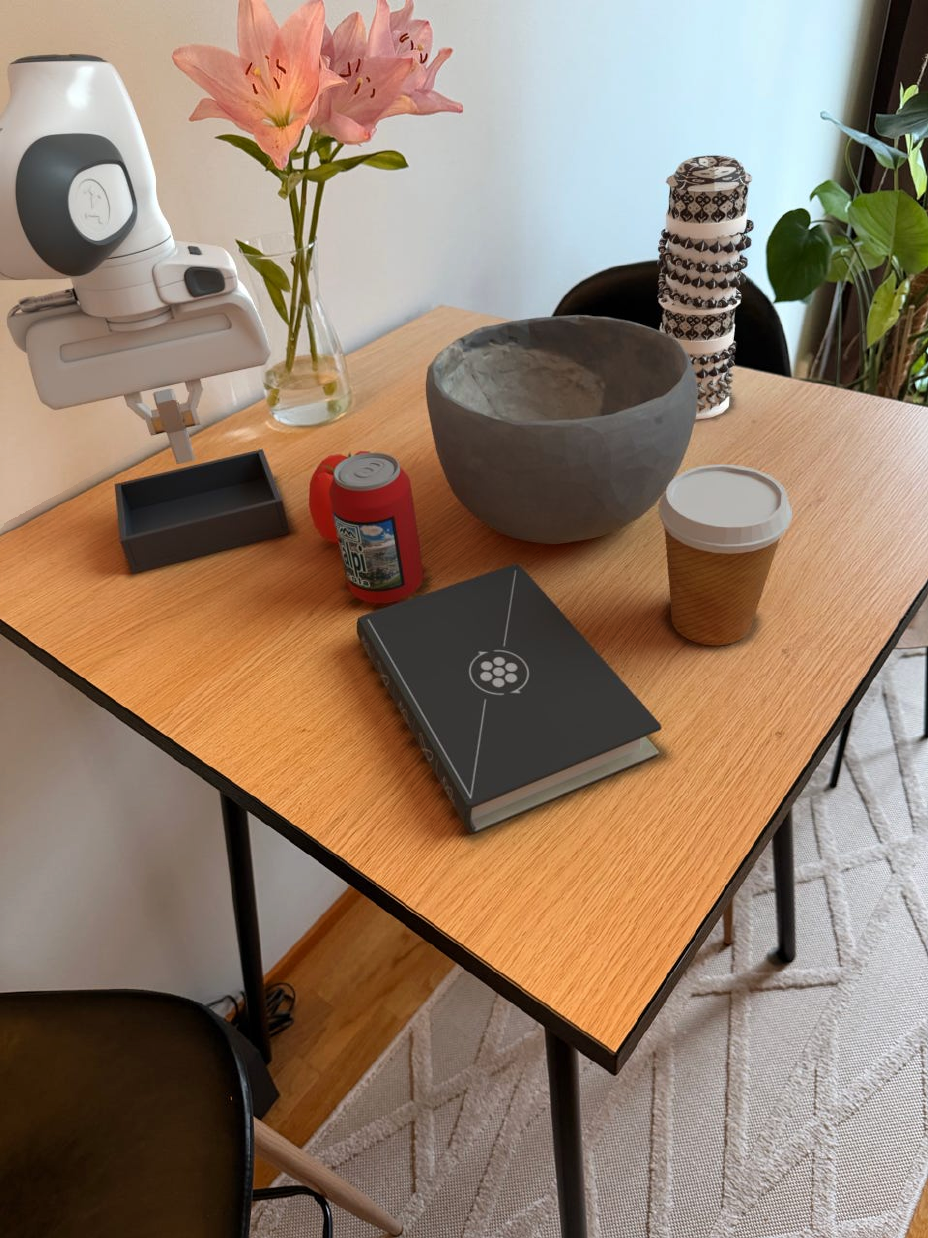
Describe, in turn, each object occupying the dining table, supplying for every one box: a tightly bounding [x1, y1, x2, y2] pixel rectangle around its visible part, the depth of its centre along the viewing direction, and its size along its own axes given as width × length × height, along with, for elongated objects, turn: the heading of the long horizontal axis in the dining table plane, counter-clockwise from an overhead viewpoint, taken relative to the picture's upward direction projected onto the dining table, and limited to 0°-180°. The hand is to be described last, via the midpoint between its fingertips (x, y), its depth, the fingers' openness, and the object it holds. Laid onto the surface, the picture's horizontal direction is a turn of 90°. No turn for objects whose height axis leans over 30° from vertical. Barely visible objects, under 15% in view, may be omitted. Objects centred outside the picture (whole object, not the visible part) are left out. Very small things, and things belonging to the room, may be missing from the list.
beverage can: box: [329, 452, 424, 604], centre depth 77 cm, size 7×7×12 cm
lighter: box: [152, 388, 196, 465], centre depth 84 cm, size 7×2×8 cm, turn 19°
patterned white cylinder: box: [657, 155, 755, 421], centre depth 95 cm, size 9×9×25 cm
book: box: [356, 562, 663, 835], centre depth 68 cm, size 22×15×3 cm
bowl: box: [425, 314, 698, 545], centre depth 84 cm, size 24×24×15 cm
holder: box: [114, 448, 291, 575], centre depth 90 cm, size 15×11×4 cm
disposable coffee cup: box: [657, 463, 793, 646], centre depth 70 cm, size 10×10×12 cm
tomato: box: [308, 450, 372, 544], centre depth 85 cm, size 9×9×8 cm
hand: (175, 427), depth 84 cm, fingers closed on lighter, 2 cm apart
